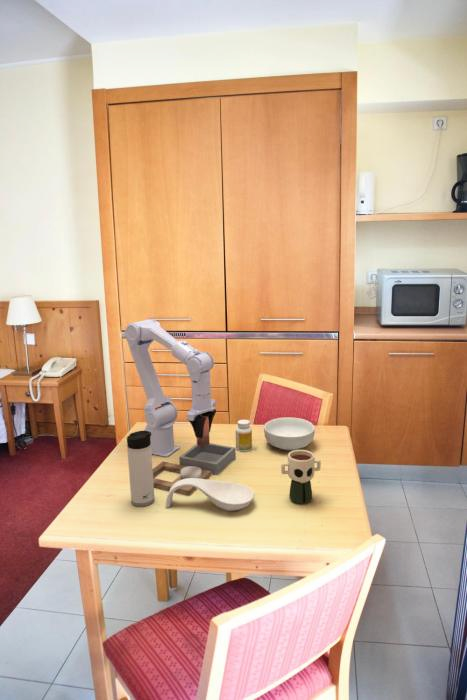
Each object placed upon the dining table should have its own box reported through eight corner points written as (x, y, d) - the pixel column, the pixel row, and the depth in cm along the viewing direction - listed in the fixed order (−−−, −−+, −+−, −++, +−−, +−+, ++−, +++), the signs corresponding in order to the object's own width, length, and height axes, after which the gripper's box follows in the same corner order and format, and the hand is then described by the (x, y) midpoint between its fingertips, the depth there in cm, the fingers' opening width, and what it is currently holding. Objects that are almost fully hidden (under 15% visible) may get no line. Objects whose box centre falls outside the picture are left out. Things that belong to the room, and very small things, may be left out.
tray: (179, 467, 167) (179, 457, 166) (200, 451, 178) (199, 441, 177) (217, 475, 161) (216, 464, 160) (235, 457, 172) (235, 447, 171)
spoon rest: (254, 494, 150) (254, 471, 148) (254, 517, 138) (253, 492, 137) (170, 494, 151) (169, 470, 149) (163, 517, 140) (161, 492, 138)
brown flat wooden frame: (138, 484, 157) (137, 471, 156) (163, 465, 168) (162, 453, 167) (189, 495, 149) (188, 482, 148) (211, 475, 161) (210, 463, 160)
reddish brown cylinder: (194, 445, 166) (193, 417, 164) (200, 440, 169) (199, 413, 167) (206, 446, 164) (204, 419, 162) (211, 442, 168) (210, 414, 165)
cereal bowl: (253, 445, 181) (253, 426, 180) (286, 432, 192) (286, 413, 190) (291, 461, 169) (291, 440, 167) (324, 445, 180) (325, 426, 178)
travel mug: (151, 508, 143) (146, 438, 139) (127, 505, 145) (122, 436, 140) (158, 496, 149) (154, 429, 145) (136, 494, 151) (131, 427, 146)
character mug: (284, 508, 142) (284, 462, 139) (278, 494, 149) (277, 451, 146) (324, 503, 144) (325, 458, 141) (315, 490, 150) (316, 447, 147)
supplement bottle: (232, 448, 179) (232, 421, 177) (244, 443, 183) (244, 417, 180) (243, 453, 175) (242, 425, 173) (255, 448, 179) (255, 421, 176)
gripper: (200, 401, 155) (202, 445, 158) (223, 387, 167) (225, 428, 171) (179, 398, 158) (182, 441, 161) (204, 384, 170) (205, 425, 174)
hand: (202, 434), depth 166 cm, fingers closed on reddish brown cylinder, 4 cm apart
